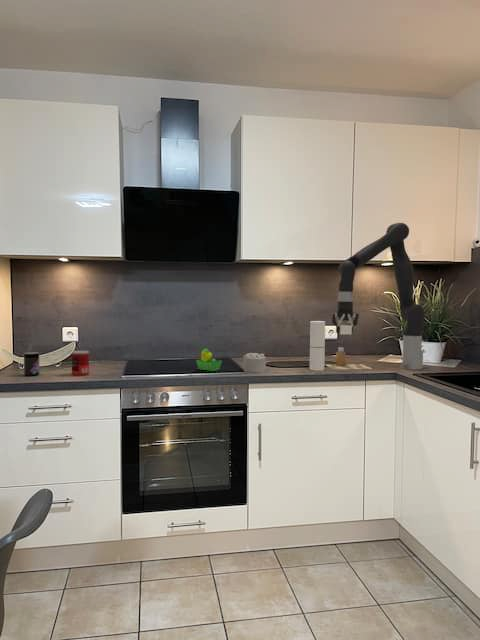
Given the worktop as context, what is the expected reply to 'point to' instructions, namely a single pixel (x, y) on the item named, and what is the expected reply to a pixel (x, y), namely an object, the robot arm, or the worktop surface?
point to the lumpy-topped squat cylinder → (254, 363)
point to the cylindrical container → (317, 345)
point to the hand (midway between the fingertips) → (344, 333)
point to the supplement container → (31, 364)
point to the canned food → (80, 363)
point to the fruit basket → (208, 362)
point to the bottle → (340, 357)
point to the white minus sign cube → (345, 329)
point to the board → (348, 366)
